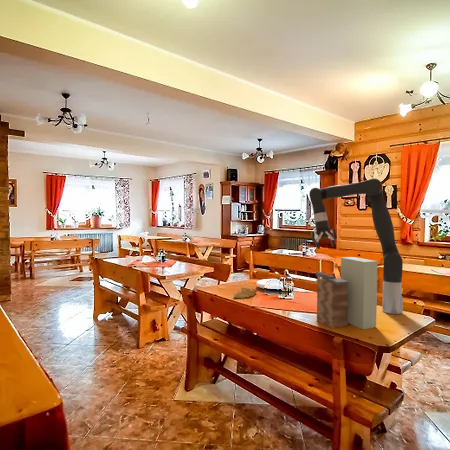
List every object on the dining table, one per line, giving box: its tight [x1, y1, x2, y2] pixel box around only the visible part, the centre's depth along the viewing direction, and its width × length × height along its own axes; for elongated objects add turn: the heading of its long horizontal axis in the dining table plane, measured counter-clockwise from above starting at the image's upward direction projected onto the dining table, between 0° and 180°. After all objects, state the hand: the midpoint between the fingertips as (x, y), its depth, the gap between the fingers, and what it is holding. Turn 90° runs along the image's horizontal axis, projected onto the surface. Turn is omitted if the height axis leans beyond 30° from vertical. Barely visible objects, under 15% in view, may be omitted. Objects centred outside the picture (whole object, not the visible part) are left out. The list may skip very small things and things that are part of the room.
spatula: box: [315, 271, 349, 285], centre depth 166 cm, size 22×6×2 cm, turn 16°
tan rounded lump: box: [233, 285, 258, 299], centre depth 218 cm, size 21×10×8 cm, turn 132°
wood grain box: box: [316, 277, 349, 329], centre depth 165 cm, size 12×9×22 cm
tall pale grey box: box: [340, 256, 378, 330], centre depth 165 cm, size 16×8×32 cm, turn 21°
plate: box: [256, 278, 295, 289], centre depth 240 cm, size 28×6×27 cm
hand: (325, 247), depth 195 cm, fingers open, 8 cm apart
